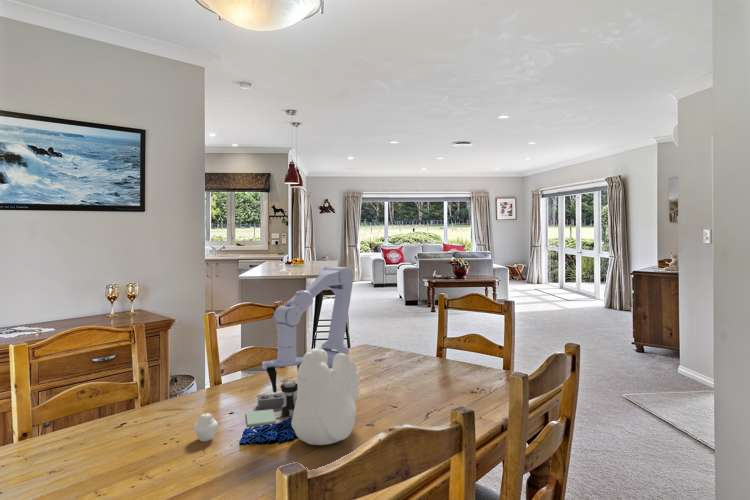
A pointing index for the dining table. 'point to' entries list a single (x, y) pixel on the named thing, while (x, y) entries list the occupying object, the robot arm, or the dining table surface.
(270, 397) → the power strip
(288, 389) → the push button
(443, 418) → the dining table surface
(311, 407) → the white rounded upright lump
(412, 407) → the dining table surface
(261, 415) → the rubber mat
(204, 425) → the grey rounded lump
